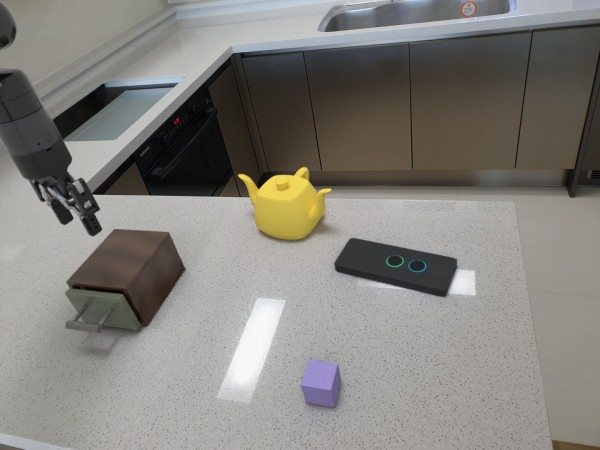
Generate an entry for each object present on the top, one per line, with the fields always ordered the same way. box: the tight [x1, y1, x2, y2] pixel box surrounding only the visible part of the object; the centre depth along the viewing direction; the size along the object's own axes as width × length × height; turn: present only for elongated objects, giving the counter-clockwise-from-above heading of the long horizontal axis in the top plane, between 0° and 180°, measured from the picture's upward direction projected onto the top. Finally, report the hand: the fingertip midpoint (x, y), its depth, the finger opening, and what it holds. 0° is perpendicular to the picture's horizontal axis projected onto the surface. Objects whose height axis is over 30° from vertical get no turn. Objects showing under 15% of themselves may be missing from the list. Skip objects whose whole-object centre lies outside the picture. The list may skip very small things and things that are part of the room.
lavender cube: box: [300, 358, 342, 408], centre depth 64 cm, size 4×4×4 cm
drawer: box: [64, 286, 142, 334], centre depth 82 cm, size 18×11×8 cm, turn 163°
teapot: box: [237, 166, 332, 241], centre depth 95 cm, size 22×16×11 cm
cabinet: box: [65, 228, 186, 327], centre depth 85 cm, size 15×13×10 cm
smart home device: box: [333, 237, 458, 297], centre depth 81 cm, size 8×2×20 cm
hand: (81, 227), depth 78 cm, fingers open, 8 cm apart
